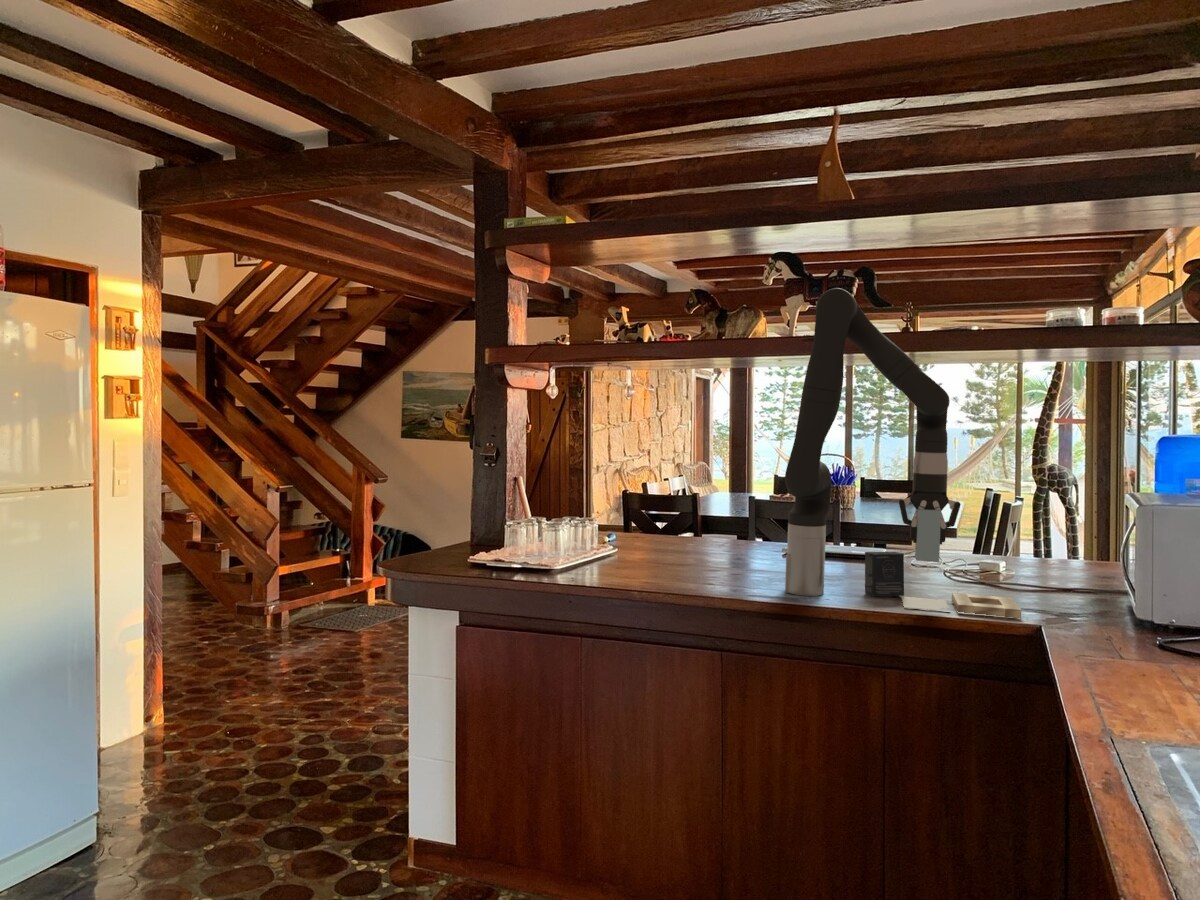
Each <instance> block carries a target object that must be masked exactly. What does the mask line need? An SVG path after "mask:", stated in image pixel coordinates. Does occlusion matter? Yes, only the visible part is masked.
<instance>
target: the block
mask: <svg viewBox="0 0 1200 900" xmlns="http://www.w3.org/2000/svg"><path fill="white" fill-rule="evenodd" d="M941 512H942V511H941V510H929V509H918V518H917V525H916V527H917V541H916V543H915V545H914V549H915V550H914V558H915V560H916V561H917V562H918V561H920V562H934V563H940V554H941V553H940V549H941V545H940V526H941Z"/></svg>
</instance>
